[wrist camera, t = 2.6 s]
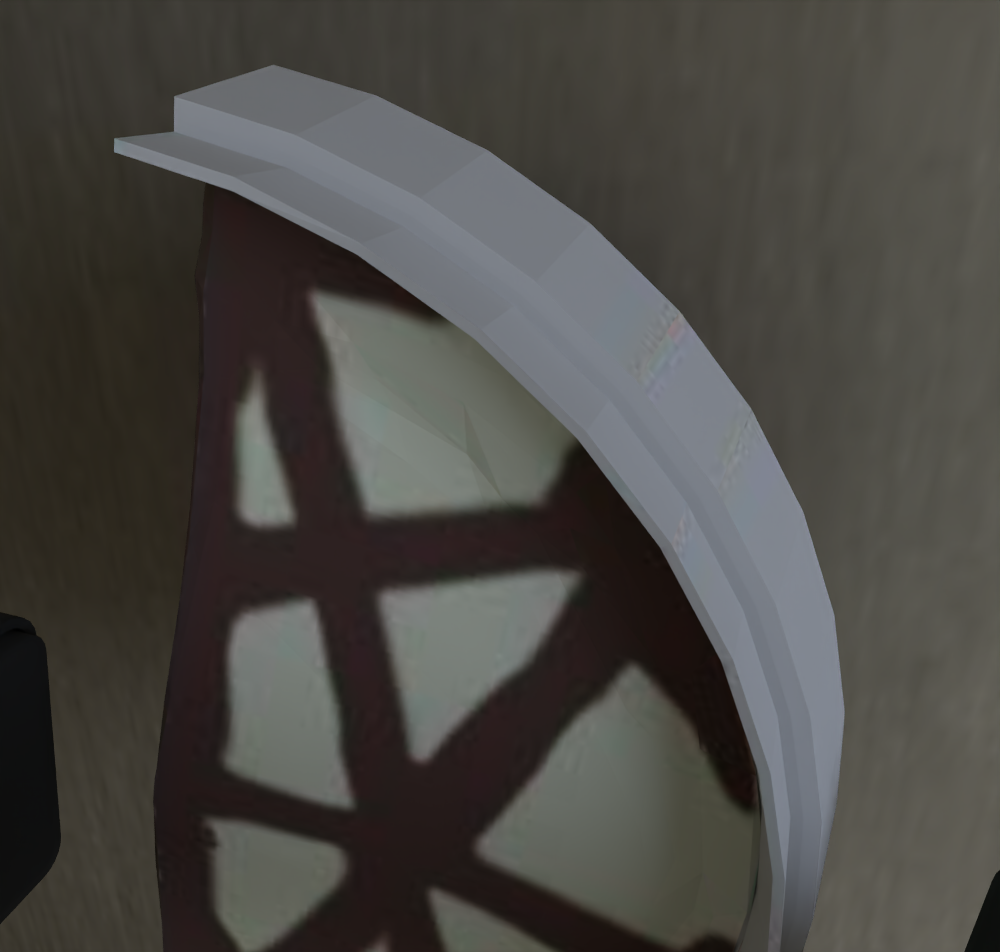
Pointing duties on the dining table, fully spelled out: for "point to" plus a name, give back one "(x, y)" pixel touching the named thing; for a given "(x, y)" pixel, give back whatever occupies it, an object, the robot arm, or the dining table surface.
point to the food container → (470, 571)
